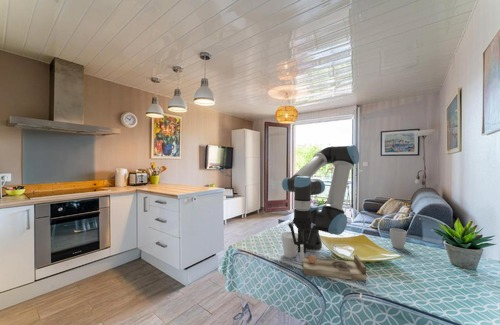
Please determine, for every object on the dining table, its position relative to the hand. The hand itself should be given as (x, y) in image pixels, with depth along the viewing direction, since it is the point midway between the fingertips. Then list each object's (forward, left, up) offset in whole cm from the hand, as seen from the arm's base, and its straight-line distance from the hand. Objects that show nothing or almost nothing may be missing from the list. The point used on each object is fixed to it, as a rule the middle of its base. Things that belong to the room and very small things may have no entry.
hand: (301, 259), depth 97 cm
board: (0, +13, -4) cm, 14 cm away
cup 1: (-11, -5, -4) cm, 13 cm away
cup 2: (-37, +58, -4) cm, 69 cm away
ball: (0, +5, +1) cm, 5 cm away
